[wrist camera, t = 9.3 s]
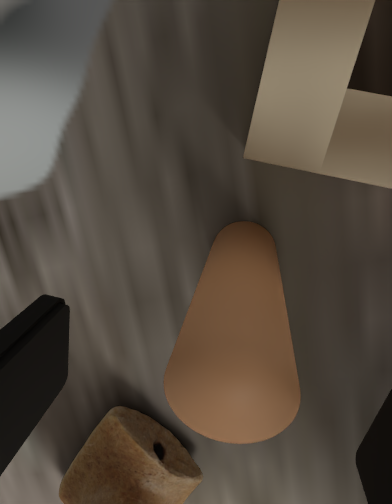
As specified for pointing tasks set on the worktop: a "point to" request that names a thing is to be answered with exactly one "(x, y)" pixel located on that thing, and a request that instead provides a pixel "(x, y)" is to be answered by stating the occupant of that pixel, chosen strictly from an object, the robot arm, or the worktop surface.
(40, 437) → the worktop surface
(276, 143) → the beige square ring
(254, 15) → the worktop surface
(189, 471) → the brown chunky piece
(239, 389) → the dowel
